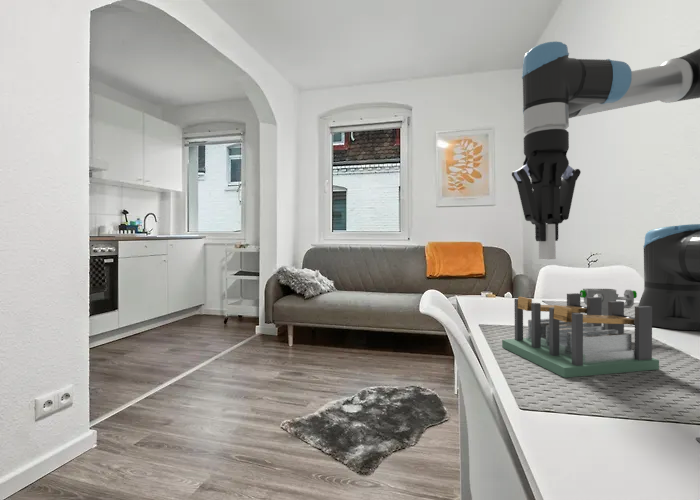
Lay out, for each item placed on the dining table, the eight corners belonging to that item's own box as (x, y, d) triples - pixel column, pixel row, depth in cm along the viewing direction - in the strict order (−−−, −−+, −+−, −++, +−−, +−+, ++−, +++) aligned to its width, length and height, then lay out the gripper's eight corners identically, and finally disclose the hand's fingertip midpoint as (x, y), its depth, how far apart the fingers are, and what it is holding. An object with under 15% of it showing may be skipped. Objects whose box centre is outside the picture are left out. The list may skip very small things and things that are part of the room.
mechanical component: (638, 338, 80) (638, 290, 80) (583, 337, 82) (583, 290, 82) (631, 335, 83) (631, 288, 83) (578, 333, 85) (578, 288, 85)
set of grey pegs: (577, 335, 78) (577, 293, 78) (652, 359, 62) (652, 306, 62) (514, 339, 76) (514, 296, 76) (576, 365, 60) (576, 311, 60)
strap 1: (579, 311, 77) (579, 298, 77) (593, 314, 73) (594, 301, 73) (516, 308, 74) (517, 296, 74) (528, 312, 71) (529, 299, 71)
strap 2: (622, 321, 67) (623, 307, 67) (641, 326, 63) (642, 311, 63) (552, 319, 65) (553, 304, 65) (567, 323, 61) (568, 308, 61)
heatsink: (567, 336, 77) (567, 316, 77) (634, 359, 62) (634, 334, 62) (526, 339, 76) (526, 319, 76) (585, 363, 61) (585, 338, 61)
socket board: (579, 341, 79) (579, 334, 79) (659, 369, 62) (659, 359, 62) (502, 347, 76) (502, 339, 76) (564, 377, 59) (564, 368, 59)
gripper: (562, 138, 77) (563, 256, 78) (502, 137, 75) (504, 259, 76) (592, 127, 70) (593, 258, 71) (526, 126, 68) (528, 261, 68)
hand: (547, 258), depth 73 cm, fingers closed
